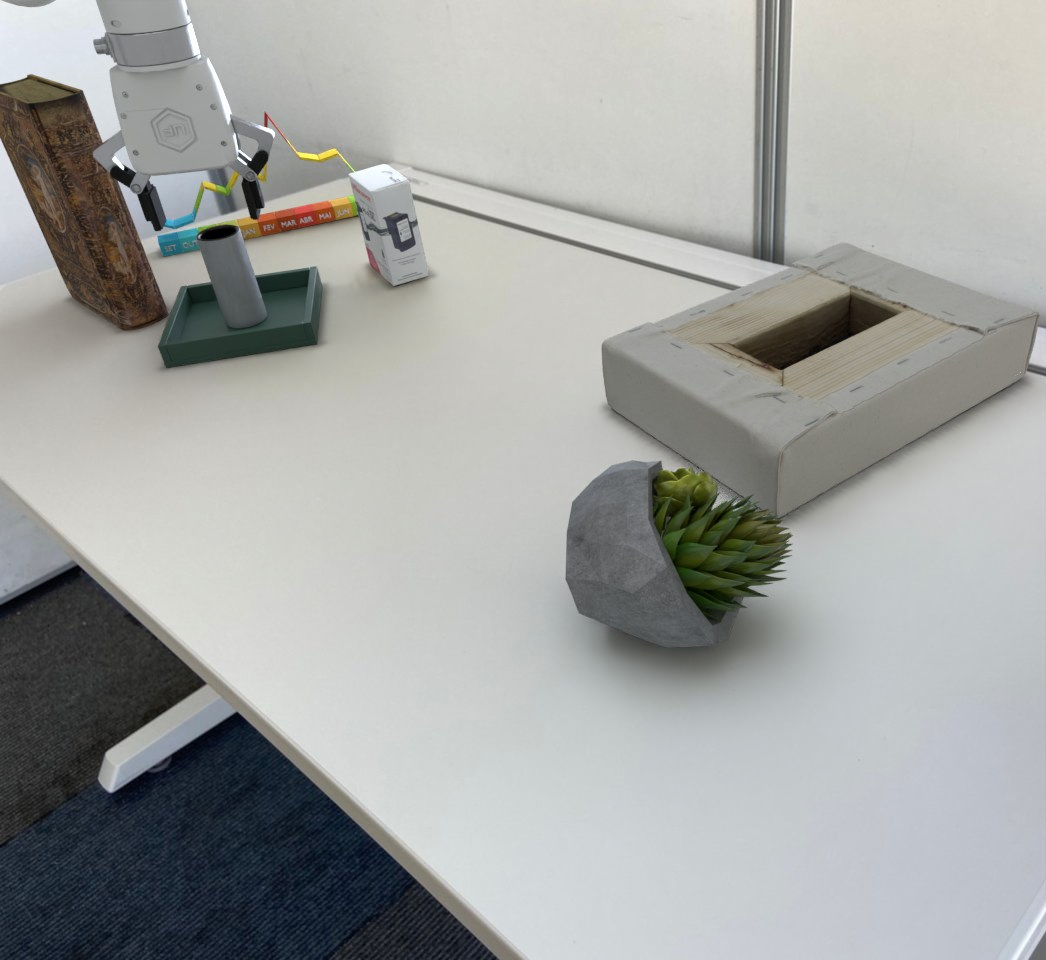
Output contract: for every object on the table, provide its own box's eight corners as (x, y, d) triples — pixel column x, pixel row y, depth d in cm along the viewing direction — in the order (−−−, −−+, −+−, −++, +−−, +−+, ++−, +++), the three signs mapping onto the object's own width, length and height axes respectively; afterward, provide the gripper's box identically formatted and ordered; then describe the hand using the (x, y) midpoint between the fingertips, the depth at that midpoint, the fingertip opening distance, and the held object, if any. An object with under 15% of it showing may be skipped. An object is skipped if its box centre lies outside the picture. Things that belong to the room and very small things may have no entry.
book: (173, 315, 114) (88, 91, 99) (127, 333, 110) (32, 105, 96) (114, 281, 123) (28, 72, 108) (70, 297, 120) (-25, 84, 105)
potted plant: (612, 492, 74) (806, 460, 69) (621, 663, 71) (826, 644, 65) (535, 454, 63) (759, 413, 58) (542, 654, 60) (779, 630, 54)
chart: (163, 257, 129) (120, 142, 120) (162, 249, 131) (120, 136, 122) (390, 209, 138) (365, 98, 129) (385, 202, 140) (360, 93, 132)
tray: (166, 368, 103) (157, 346, 101) (188, 306, 115) (180, 286, 114) (316, 344, 105) (310, 322, 104) (322, 286, 118) (316, 265, 116)
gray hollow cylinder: (251, 307, 112) (223, 221, 106) (276, 316, 110) (248, 228, 104) (217, 323, 110) (186, 235, 104) (242, 332, 107) (211, 243, 101)
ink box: (368, 265, 122) (345, 171, 115) (405, 254, 124) (385, 161, 117) (392, 287, 116) (369, 190, 109) (431, 276, 118) (411, 179, 111)
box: (781, 528, 75) (1031, 377, 90) (781, 444, 70) (1044, 299, 85) (602, 415, 90) (841, 302, 105) (593, 340, 86) (843, 233, 101)
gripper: (48, 64, 89) (114, 244, 99) (245, 46, 91) (291, 223, 101) (68, 47, 95) (129, 218, 105) (253, 31, 97) (295, 199, 107)
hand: (209, 221), depth 103 cm, fingers open, 9 cm apart
